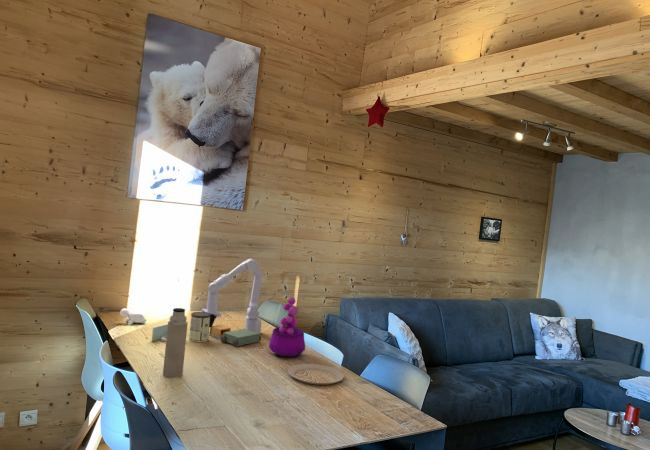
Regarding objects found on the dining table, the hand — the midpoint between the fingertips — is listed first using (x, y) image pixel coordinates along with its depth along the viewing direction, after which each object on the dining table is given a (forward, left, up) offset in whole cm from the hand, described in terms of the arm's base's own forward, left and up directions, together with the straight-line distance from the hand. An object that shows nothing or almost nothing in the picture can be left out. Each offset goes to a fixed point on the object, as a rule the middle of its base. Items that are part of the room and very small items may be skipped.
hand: (209, 326), depth 278 cm
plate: (+12, +85, -3) cm, 86 cm away
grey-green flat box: (0, +19, -3) cm, 20 cm away
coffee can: (+16, +9, -3) cm, 19 cm away
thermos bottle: (+60, +45, -3) cm, 75 cm away
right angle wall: (+30, +2, -4) cm, 30 cm away
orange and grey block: (0, +9, -3) cm, 9 cm away
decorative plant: (-3, +55, -3) cm, 56 cm away
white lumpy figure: (+25, -38, -3) cm, 46 cm away
